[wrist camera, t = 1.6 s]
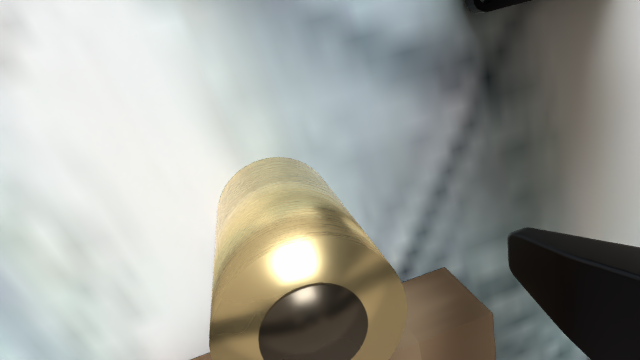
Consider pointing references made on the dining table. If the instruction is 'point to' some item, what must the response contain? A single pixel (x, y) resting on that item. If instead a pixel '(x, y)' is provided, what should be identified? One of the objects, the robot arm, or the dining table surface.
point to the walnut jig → (441, 322)
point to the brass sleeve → (298, 273)
